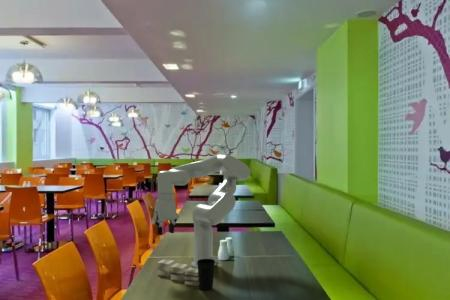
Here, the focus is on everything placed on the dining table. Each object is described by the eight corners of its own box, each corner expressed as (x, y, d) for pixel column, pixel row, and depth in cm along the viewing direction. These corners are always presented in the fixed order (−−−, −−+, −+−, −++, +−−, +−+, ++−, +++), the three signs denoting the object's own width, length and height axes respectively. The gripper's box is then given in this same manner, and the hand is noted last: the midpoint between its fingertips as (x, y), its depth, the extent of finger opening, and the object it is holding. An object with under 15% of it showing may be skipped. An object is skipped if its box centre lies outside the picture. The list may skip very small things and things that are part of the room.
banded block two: (202, 281, 193) (202, 268, 193) (197, 286, 187) (197, 272, 187) (190, 280, 195) (190, 267, 195) (184, 284, 189) (184, 271, 189)
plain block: (174, 272, 206) (174, 260, 206) (168, 276, 200) (168, 263, 200) (163, 271, 208) (163, 259, 208) (157, 275, 202) (157, 262, 202)
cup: (214, 285, 188) (214, 258, 187) (214, 291, 180) (214, 263, 180) (197, 285, 187) (197, 258, 187) (196, 291, 180) (196, 263, 179)
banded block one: (188, 277, 200) (188, 264, 199) (182, 281, 194) (182, 268, 193) (176, 275, 202) (176, 263, 201) (170, 279, 196) (170, 266, 196)
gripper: (176, 194, 212) (176, 230, 212) (145, 197, 201) (146, 235, 201) (184, 195, 206) (184, 232, 207) (154, 198, 195) (154, 237, 195)
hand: (165, 233), depth 204 cm, fingers open, 5 cm apart
